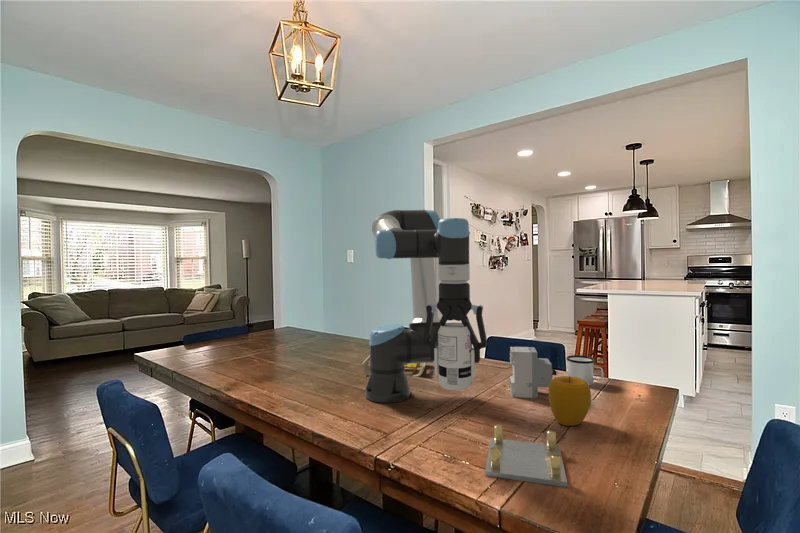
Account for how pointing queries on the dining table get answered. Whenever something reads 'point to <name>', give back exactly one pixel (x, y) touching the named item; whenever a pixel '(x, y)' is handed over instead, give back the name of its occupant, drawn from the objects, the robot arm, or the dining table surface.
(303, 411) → the dining table surface
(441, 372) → the supplement can
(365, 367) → the toy food set
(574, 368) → the mug
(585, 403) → the apple
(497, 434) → the plate
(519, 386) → the circuit breaker
